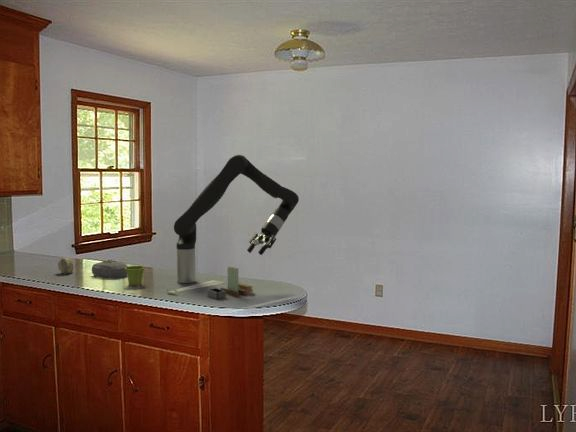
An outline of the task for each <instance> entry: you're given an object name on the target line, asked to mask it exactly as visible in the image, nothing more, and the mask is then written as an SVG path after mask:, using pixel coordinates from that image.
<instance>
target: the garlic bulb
mask: <svg viewBox="0 0 576 432" xmlns="http://www.w3.org/2000/svg"><path fill="white" fill-rule="evenodd" d="M57 267H58V270H59V271H60V272H61V273H64V274H63V275H67V274H68V275H69V274H72V273H74V267H75V266H74V263H73V261H72V260H71V258H69V257H64V256H61V258H60V260H59V261H58V263H57Z"/></svg>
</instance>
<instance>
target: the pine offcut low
mask: <svg viewBox="0 0 576 432" xmlns="http://www.w3.org/2000/svg"><path fill="white" fill-rule="evenodd" d="M241 290H243V289H241ZM244 291H246V290H244ZM253 293H254V289H252V290H248V291H246V295H248V296H250V295H249V294H253ZM253 295H254V294H253Z"/></svg>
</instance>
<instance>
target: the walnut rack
mask: <svg viewBox="0 0 576 432" xmlns="http://www.w3.org/2000/svg"><path fill="white" fill-rule="evenodd" d="M220 289H221V290H225V291H226V296H227V295H228V296H230V297H233V298H237V299H238V298H242V297H247V296H248V297H249V296H253V295H255V294H256V293H254V292H253V294H249V295H246V291H244V290H241V289H239V292H236V291H233V290H229V289H228V286H227V287H226V288H225V287H220Z"/></svg>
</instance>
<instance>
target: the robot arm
mask: <svg viewBox="0 0 576 432" xmlns="http://www.w3.org/2000/svg"><path fill="white" fill-rule="evenodd" d="M240 174H241V175H243V176H245V177H247V178H248V179H250V181H252V182H253V183H254V184H256V185H257V186H258V187H259V188H260V189H261V190H262V191H263V192H265V193H266V194H268V195H269V196H270V197H272V198H273V199H280V200H281V202H280V204H279V205H278V206H277V208H275V210H274V211H273V212H272V214H271V216H269V217H268V219H267V220H266V222H265V223H264V224H263V226H262V227H261V229H260V230H261V232H260V233H259V234H258V233H257V232H256V233H254V235H253V236H252V237H251V238H250V239H249V241H248V243H249V244H250V245H249V246H248V248H247V252H248V254H251V253H252V252H253V250H254V249H255V247H257V246H260V245H261V247H260V248H259V250H258V254H259V255H260V256H262V255H264V253H265V251H266V250H267V249H271V248H272V247H273V245H274V244H275V242H276V241H277V238H276V237H277V234H279V231H280V230H281V229H282V227H283V225H284V224H285V222H286V221H287V219H288V217H289V216H290V214H291V213H292V212H293V210H294V209H295V207H296V206H297V205H298V203H299V201H300V200H299V199H300V198H299V195H298V194H297V193H296V192H295V191H293V190H291V189H288V188H287V187H285V186H283V185H281V184H279V183H278V182H277V181H275V180H274V179H272V178H271V177H270V176H268V175H267V174H265V173H263V172H262V171H261V170H259V169H258V168H257V167H256V166H255V165H254V164H252V162H250V160H249V159H248V158H247V157H246V156H245V155H242V154H236V155H235V154H234V155H232V156H231V157H230V158H229V159H228V160H227V162H226V163H225V165H224V166H223V168H222V169H221V170H220V172H219V173H218V174H217V175H216V176H214V178H213V179H212V180H211V181H210V182H209V183H208V184H207V186H205V188H203V190H202V191H201V192H200V194H199V195H198V196H197V197H196V198H195V200H194V201H193V202H192V204H191V205H190V206H189V208H188V209H187V210H186V211H185V212H184V213H183V214H182V215H181V216H179V217H178V218H177V219H176V221H175V222H174V223H173V231H174V233H175V234H176V235H178V240H177V242H176V281H177V283H179V284H190V283H195V282H196V280H197V279H196V242H197V224H196V223H197V221H198V220H200V219H201V218H202V217H203V216H204V215H205V214H207V213H208V212H209V211H210V210H212V209H213V208H214V207H215V205H216V204H218V202H219V201H220V200H221V199H222V198H223V196H224V195H225V192H226V191H227V189H228V187H229V186H230V184H231V183H232V182H233V181H234V180H235V179H236V178H237V177H238V176H239V175H240Z"/></svg>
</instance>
